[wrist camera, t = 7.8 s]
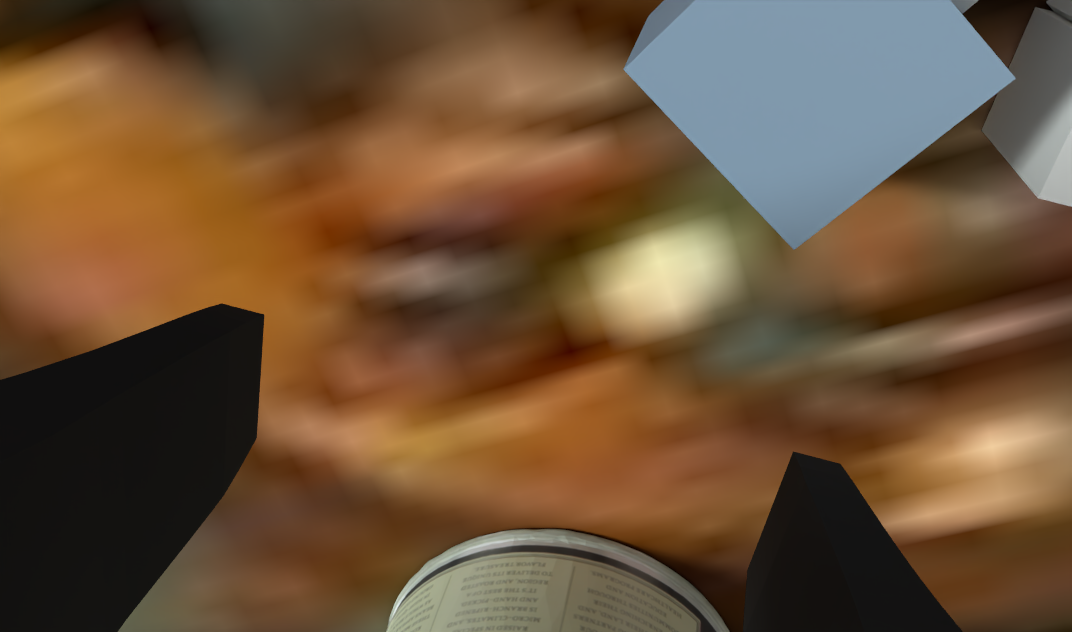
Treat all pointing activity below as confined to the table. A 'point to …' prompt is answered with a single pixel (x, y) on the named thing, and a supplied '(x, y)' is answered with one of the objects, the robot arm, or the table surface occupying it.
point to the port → (1039, 106)
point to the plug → (813, 92)
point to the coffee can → (549, 589)
